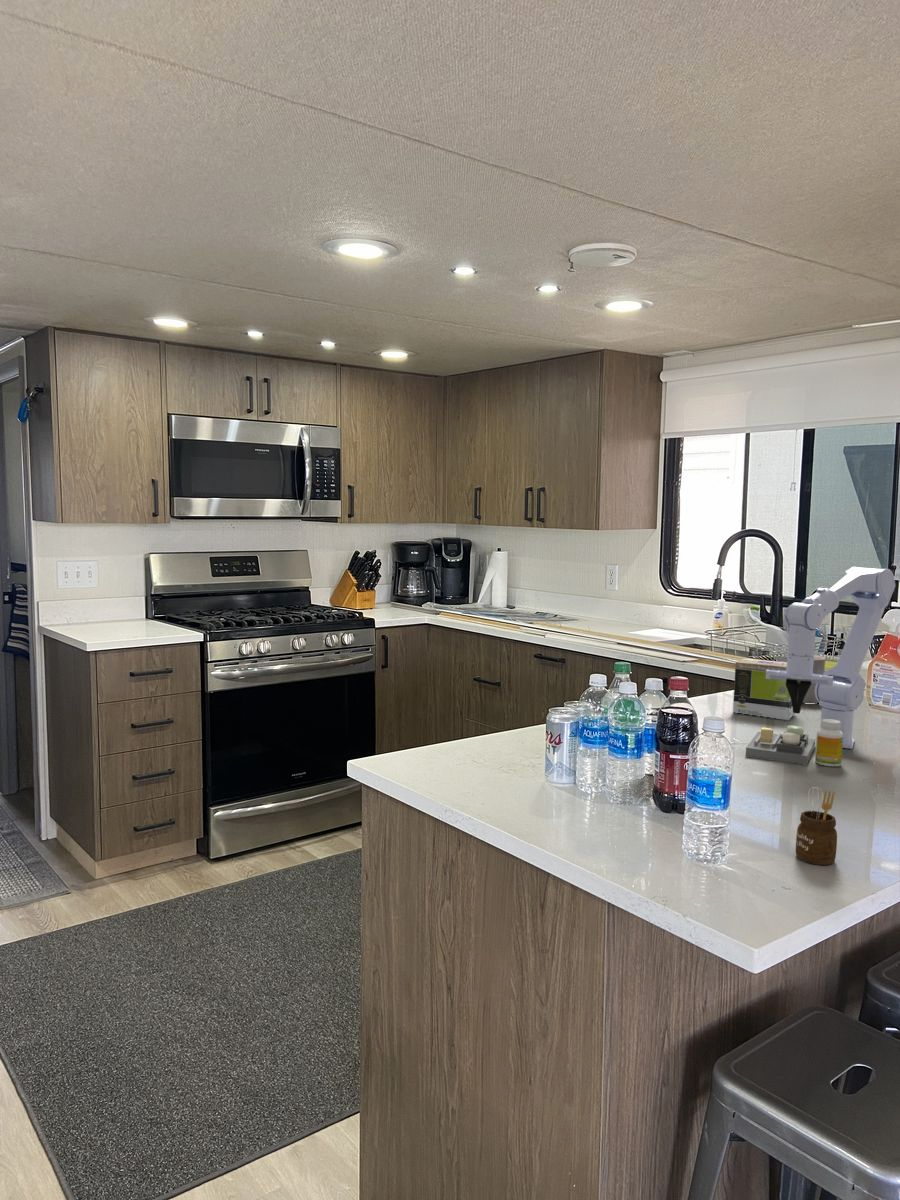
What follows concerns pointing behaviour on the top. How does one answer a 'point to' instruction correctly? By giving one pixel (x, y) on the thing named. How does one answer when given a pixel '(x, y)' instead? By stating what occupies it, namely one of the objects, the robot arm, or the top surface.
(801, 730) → the sage button
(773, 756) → the panel
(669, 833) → the top surface
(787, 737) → the white button
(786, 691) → the tea box
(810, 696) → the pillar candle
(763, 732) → the tan wooden block
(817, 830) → the utensil holder
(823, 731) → the supplement bottle
